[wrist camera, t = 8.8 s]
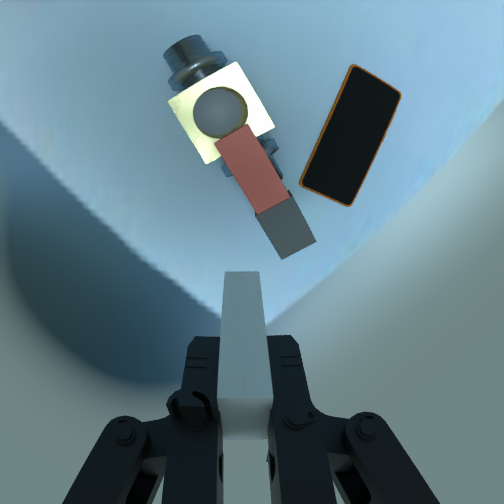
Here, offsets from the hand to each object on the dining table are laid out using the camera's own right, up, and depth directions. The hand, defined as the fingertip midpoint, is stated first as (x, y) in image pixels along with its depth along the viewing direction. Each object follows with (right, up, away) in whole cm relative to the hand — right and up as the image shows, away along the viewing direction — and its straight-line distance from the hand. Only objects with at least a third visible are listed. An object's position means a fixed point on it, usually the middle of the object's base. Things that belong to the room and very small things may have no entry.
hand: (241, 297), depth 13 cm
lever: (+1, +10, +12) cm, 15 cm away
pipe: (-3, +18, +17) cm, 25 cm away
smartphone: (+12, +16, +18) cm, 27 cm away
